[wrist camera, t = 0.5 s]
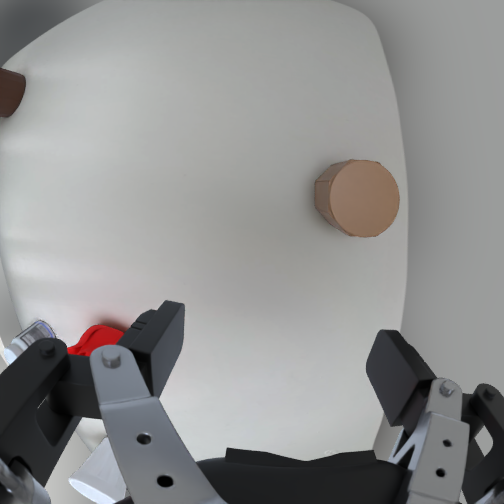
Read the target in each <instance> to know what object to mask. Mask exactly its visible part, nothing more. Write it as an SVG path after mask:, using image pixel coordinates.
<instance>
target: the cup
mask: <svg viewBox="0 0 504 504" xmlns="http://www.w3.org/2000/svg"><path fill="white" fill-rule="evenodd" d="M68 480H69V483H70V484H71V485H72V486H73V487H74V488H75V489H76V490H77V491H79V492H80V493H81V494H83V495H84V496H86V497H87V498H89V499H90V500H92V501H94V502H96V503H98V504H114V503H116V502H118V501H120V500H122V499H124V497H125V492H126V484H125V482H124V480H123V477H122V475H121V472H120V470H119V467H118V465H117V462H116V459H115V457H114V454H113V451H112V448H111V445H110V442H109V439H108V437H105V438H104V439H103V441H102V442H101V443H100V444H99V445H98V447H97V448H96V449H95V450H94V451H93V452H92V454H91V455H90V456H89V457H88V459H87V460H86V461H85V462H84V463H83V464H82V466H81V467H80V468H79V469H78V470H77V471H76V472H74V473H73V474H72V475H71V476H70V478H69V479H68Z"/></svg>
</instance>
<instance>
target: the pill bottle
mask: <svg viewBox="0 0 504 504" xmlns="http://www.w3.org/2000/svg"><path fill="white" fill-rule="evenodd" d="M47 337H52V338H55V335H54V333H53V331H52V330H51V328H50V327H49V326H48V325H47V324H46V323H44V322H43V321H37V322H35V323H34V324H32V325H31V326H30V327H28V328H27V329H25V330H24V331H23V332H21V333H20V334H19V335H17V336H16V337H15V338H14V339H13V340H12V343H11V344H10V345H9V346H8V347H7V348H5V350H4V354H5V358H6V360H7V362H8V363H9V365H10V364H11V363H12V362H13V361H14V360H15V359H16V358H17V357H18V356H19V355H20V354H22V353H23V352H24V351H25V350H26V349H27V348H28V347H29V346H30V345H31V344H32V343H33V342H35V341H36V340H39V339H42V338H47Z"/></svg>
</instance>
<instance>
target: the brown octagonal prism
mask: <svg viewBox="0 0 504 504" xmlns="http://www.w3.org/2000/svg"><path fill="white" fill-rule="evenodd" d="M399 201H400V199H399V190H398V186H397V184H396V182H395V180H394V178H393V176H392V175H391V173H390V172H389V171H388V170H387V169H386V168H384V167H383V166H382V165H381V164H380V163H378V162H374V161H368V160H347V161H344V162H340V163H336V164H333V165H331V166H330V167H329V168H328V169H327V170H326V171H325V172H324V173H323V174H322V175H321V176H320V177H319V178H318V179H317V180H316V182H315V208H316V209H317V210H318V211H319V212H320V213H321V214H322V215H323V216H324V218H325V219H326V220H327V221H328V222H329V223H330V224H331V225H332V226H334V227H336V228H337V229H339V230H340V231H342V232H343V233H345V234H347V235H349V236H358V237H372V236H373V237H376V236H378V235H379V234H380V233H382V232H383V231H385V230H386V229H387V228H388V227H389V226H390V225H391V224H392V222H393V221H394V219H395V217H396V215H397V212H398V209H399Z"/></svg>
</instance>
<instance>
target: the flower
mask: <svg viewBox="0 0 504 504" xmlns="http://www.w3.org/2000/svg"><path fill="white" fill-rule="evenodd" d="M123 335H124V332H122V331H120V330H117V329H114V328H111V327H108V326H105V325H94V326H92V327H90V328H89V329H88V330H87V331H86V332H85V333H84V334H83V335H82V337H81V338H80V340H79V342H78V343H77V344H76V345H74V346H71V347H68V348H67V350H68V354H74V355H82V356H90V355H91V353H92V352H93V351H94V350H95V349H96V348H98V347H101V346H104V345H115V344H116V343H117V342H118V340H119V339H120V338H121V337H122V336H123Z"/></svg>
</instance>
